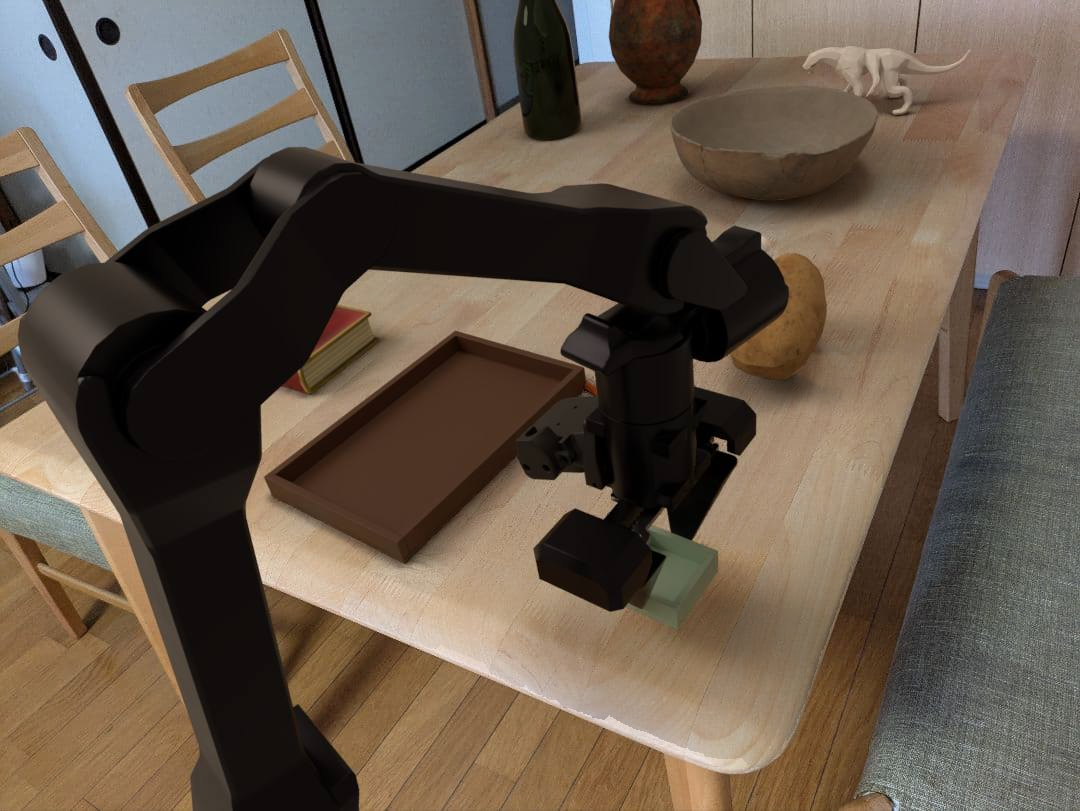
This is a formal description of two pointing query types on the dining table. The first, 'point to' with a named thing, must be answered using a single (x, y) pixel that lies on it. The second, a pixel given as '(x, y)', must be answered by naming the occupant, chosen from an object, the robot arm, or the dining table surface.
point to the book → (335, 349)
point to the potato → (788, 324)
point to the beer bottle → (545, 71)
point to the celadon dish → (678, 577)
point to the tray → (423, 442)
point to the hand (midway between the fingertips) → (660, 574)
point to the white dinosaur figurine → (876, 69)
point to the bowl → (773, 139)
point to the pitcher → (655, 46)
